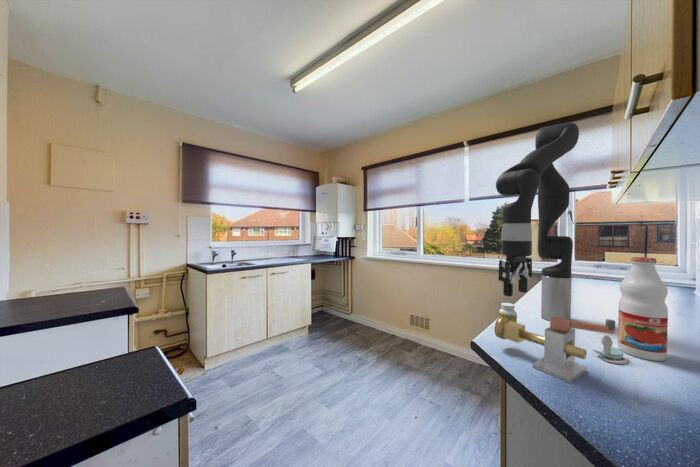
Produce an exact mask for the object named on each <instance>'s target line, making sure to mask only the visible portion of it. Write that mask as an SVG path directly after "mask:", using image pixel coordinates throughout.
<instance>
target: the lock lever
mask: <svg viewBox="0 0 700 467" xmlns="http://www.w3.org/2000/svg"><path fill="white" fill-rule="evenodd" d="M549 322H550V324H549V327H551V328H552V329H554V330H558V331H563V332H569V331H570V328H573V329H575V330H576V329H577V330H583V331H590V332H596V333H597V332H598V333H605V334H610V335H611V334H612V335H614V334H615V330H616V320H614V319H610V318H609V319H608V318H607V319H605V324H598V323H592V322H591V323H590V322H583V321H577V320H571V321H570V320H567V319H564V318H559V317H551V318H550V321H549Z"/></svg>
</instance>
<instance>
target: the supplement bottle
mask: <svg viewBox="0 0 700 467" xmlns="http://www.w3.org/2000/svg"><path fill="white" fill-rule="evenodd" d="M500 304H501V305H500V306H501V308H500V309H499V310H498V312H499V313H498V318H499V317H505V318H508V319H509V320H510V321H512V322H516V323H518V322H517V319H518V318H517V317H518V313H517V311H516V310H515V304H513V303H511V302H510V303H509V302H501V303H500Z"/></svg>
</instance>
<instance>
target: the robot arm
mask: <svg viewBox="0 0 700 467" xmlns="http://www.w3.org/2000/svg"><path fill="white" fill-rule="evenodd" d="M579 136H580V129H579V126H578V124H576V123H575V122H565V123H564V122H562V123H559V124H553V125H546V126H542V127H540V128H539V129H538V130H537V132H536V134H535V140H534V141H535V142H534V143H535V150H532V151H531V152H529V153H528V154H526V155H525V156H524V157H523V158H522V159H521V160H520V162H518V163H516V164H515V165H513V166H511V167H510V168H508V169H506V170H504V171H503V172H501V174H500V175H499V176H498V178H497V179H496V182H495V190H496V191H497V193H498V194H500V195H501V196H502V197H503V196H504V197H510V196H518V198H517V200H515V201H514V202H510V203H506V204H505V205H504V206H503V207H502V227H501V236H500V237H501V245H500V246H501V247H500V248H501V252H500V253H501V255H503V256H506V257H505V259H499V261H498V281H499V282H500V281H501V282H502V283H503V286H502V287H503V292H502V293H503V295H504V296H506V297H513V295H514V294H513V292H514V290H513V289H514V284H513V283H514V280H515V278H517V277H518V292H521V293H527V292H528V289H529V288H528V284H529V280H530V278H532V277H533V258H532V257H531V256H532V254H533V229H532V228H533V227H532V209H533V205H534V202H535V198H536V194H537V209H538V231H537V233H538V235H537V254H538V256H539V257H540V258H541V259H545V260H546V259H548V260H560V262H558V263H557V264H554V265H551V266H545V267H543V268H542V269H541V294H540V295H541V296H540V298H541V305H540V306H541V309H540V314H541V315H540V316H541V318H542V319H544V320H546V321H549V322H550V318H551V317H559V318H564V319H567V320H570V321H572V320H571V319H572V318H571V317H572V262H573V259H572V258H573V250H574V243H573V239H572V237H571V236H564V235H549V233H550V230H551V229H552V227H553V225H554V224H555V223H556V222H557V221H558V219H560V217H562V215H563V214H564V213H565V212H566V210H567V209H568V208H569V205H570V192H571V191H570V186H569V184H568V182H567V181H566V180H565V178H564V177H563V176H562V175H561V173H560V172H559V171H558V170H557V169H556V167H555V165H554V162H555V161H557V160H559V159H560V158H561V157H563V156H564V155H566V154H567V153H569V152H571V150H573V149H574V148H575V147H576V145H577V143H578V140H579Z"/></svg>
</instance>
